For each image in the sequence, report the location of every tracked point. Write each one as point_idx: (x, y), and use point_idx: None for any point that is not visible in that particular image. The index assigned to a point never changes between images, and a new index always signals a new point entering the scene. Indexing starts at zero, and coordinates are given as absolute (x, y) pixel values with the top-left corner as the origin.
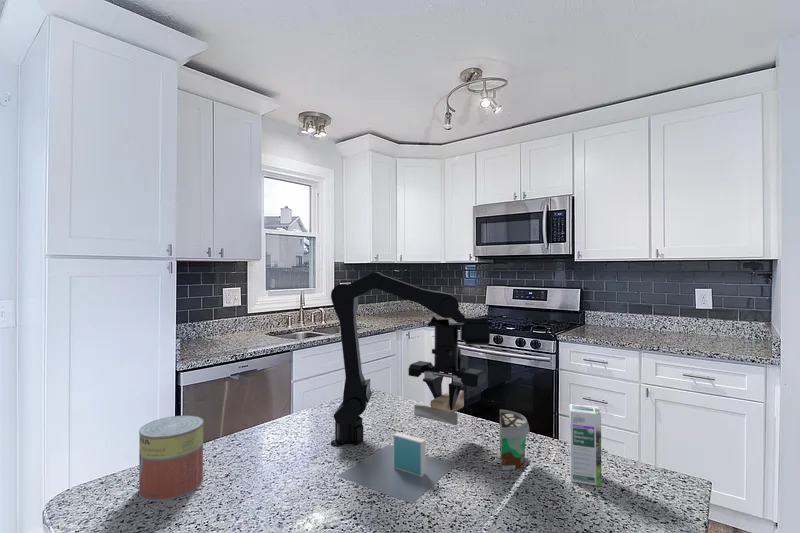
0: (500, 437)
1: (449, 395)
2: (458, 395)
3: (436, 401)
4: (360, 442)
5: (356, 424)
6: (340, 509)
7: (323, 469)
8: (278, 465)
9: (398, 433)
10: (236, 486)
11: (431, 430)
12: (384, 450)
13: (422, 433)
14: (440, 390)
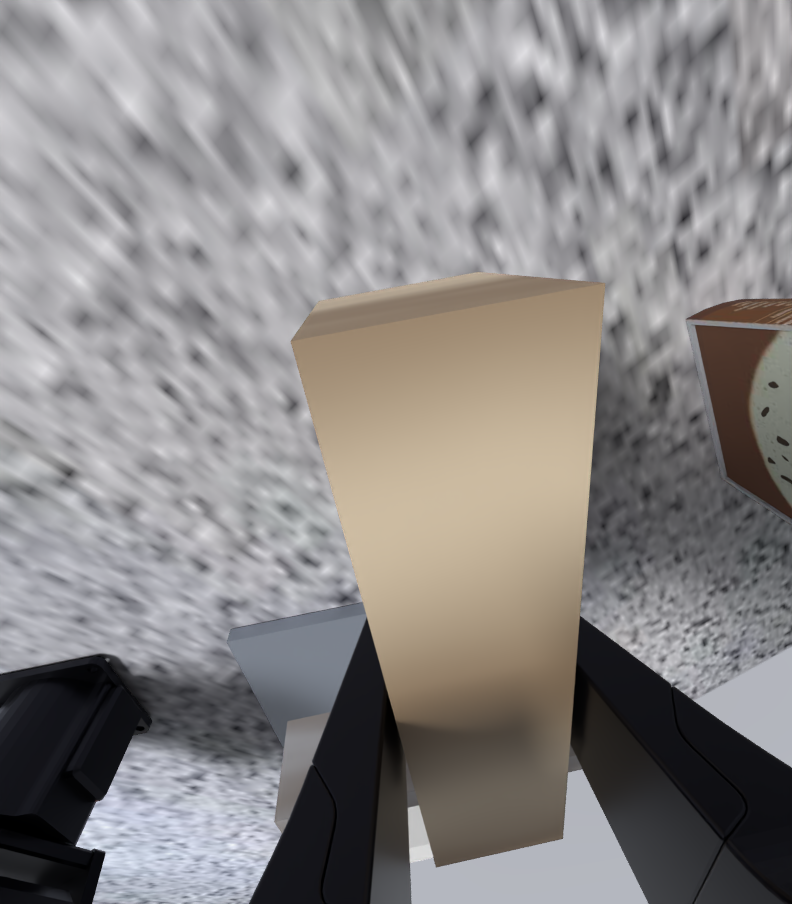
0: (786, 354)
1: (628, 846)
2: (679, 690)
3: (491, 846)
4: (131, 701)
5: (77, 814)
6: None
7: (233, 796)
8: (129, 848)
9: (417, 850)
10: (184, 898)
11: (173, 328)
12: (264, 674)
13: (181, 410)
14: (388, 823)
